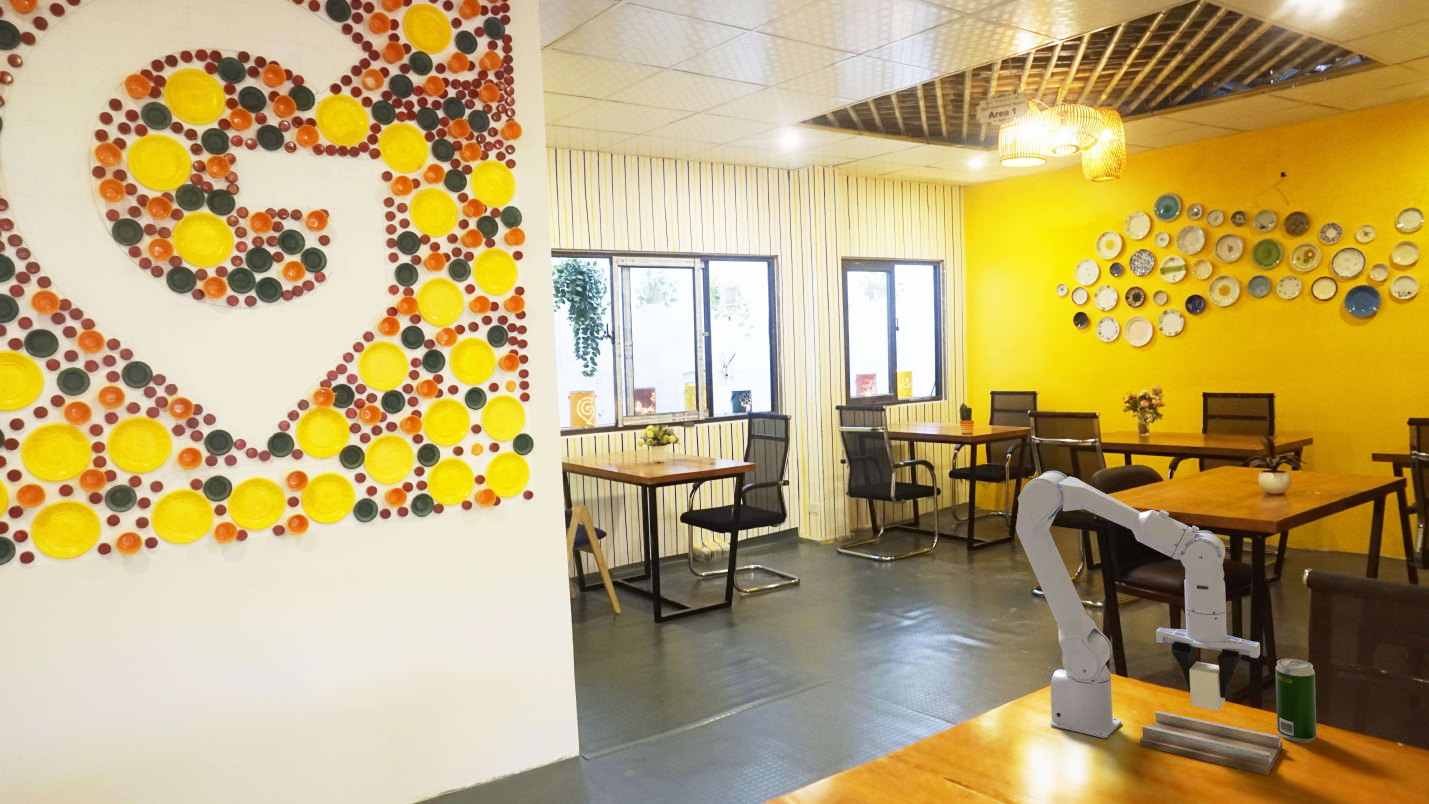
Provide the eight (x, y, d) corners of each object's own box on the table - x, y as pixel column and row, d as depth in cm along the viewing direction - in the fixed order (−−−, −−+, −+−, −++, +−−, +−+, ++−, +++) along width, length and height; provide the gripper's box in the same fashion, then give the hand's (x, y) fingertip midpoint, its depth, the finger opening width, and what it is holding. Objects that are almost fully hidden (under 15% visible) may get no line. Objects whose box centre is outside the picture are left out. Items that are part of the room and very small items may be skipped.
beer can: (1307, 746, 141) (1305, 672, 141) (1271, 735, 146) (1268, 663, 145) (1322, 736, 144) (1320, 664, 144) (1286, 726, 149) (1284, 655, 148)
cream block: (1190, 705, 142) (1189, 669, 142) (1197, 697, 145) (1196, 661, 145) (1218, 711, 140) (1217, 674, 139) (1225, 702, 143) (1223, 666, 142)
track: (1139, 745, 145) (1139, 730, 145) (1160, 721, 153) (1159, 707, 153) (1267, 775, 133) (1267, 758, 133) (1282, 748, 141) (1281, 732, 141)
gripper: (1148, 608, 144) (1152, 691, 145) (1251, 623, 134) (1254, 711, 135) (1162, 598, 149) (1165, 677, 150) (1261, 611, 139) (1264, 695, 140)
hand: (1208, 692), depth 143 cm, fingers closed on cream block, 4 cm apart
